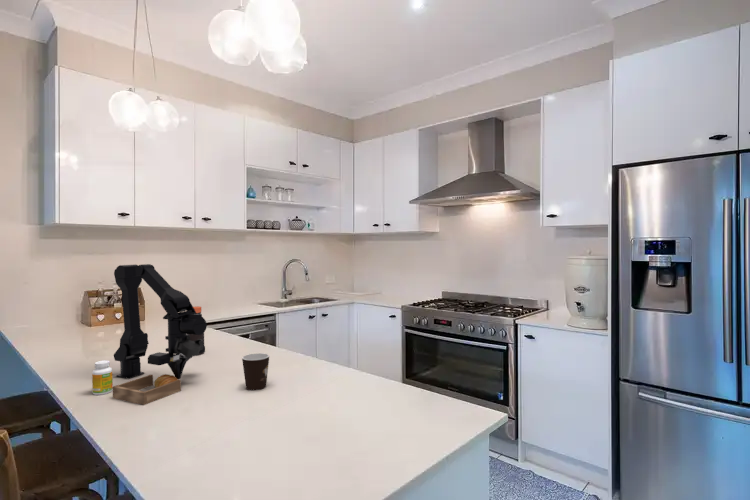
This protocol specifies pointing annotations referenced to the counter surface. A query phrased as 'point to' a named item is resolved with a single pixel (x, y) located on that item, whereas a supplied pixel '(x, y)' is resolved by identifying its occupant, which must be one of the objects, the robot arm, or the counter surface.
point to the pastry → (164, 380)
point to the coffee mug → (255, 370)
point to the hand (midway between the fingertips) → (178, 378)
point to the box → (132, 393)
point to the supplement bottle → (102, 378)
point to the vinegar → (196, 337)
